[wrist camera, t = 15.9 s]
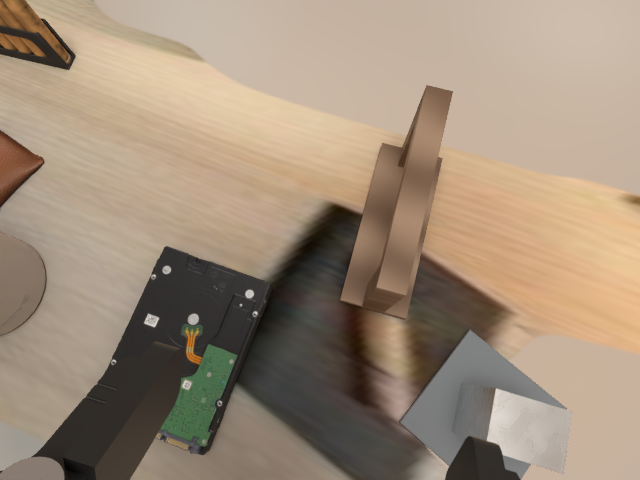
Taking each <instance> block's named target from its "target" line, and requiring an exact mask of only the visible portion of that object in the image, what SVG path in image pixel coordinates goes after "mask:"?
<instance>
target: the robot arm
mask: <svg viewBox="0 0 640 480" xmlns="http://www.w3.org/2000/svg"><path fill="white" fill-rule="evenodd" d="M45 281H46V278H45V268H44V265H43V262H42V260H41V258H40V256H39V255H38V253H37V252H36V251H35V250H34V249H33V248H32V247H31V246H30V245H28V244H26V243H24V242H22V241H20V240H18V239H15V238H13V237H10V236H8V235H5V234H3V233H1V232H0V335H3V334H6V333H8V332H10V331H12V330H13V329H15V328H17V327H18V326H20V325H21V324H22V323H23V322H25V321H26V320H27V319H28V318H29V317H30V315H31V314H32V313H33V312H34V311H35V309H36V307H37V306H38V304H39V302H40V300H41V298H42V295H43V292H44V288H45ZM181 372H182V349H180V348H177V347H173V346H170V345H166V344H163V343H160V342H154V343H152V344H151V345H150V347H149V348H148V349H147V350H146V352H145V353H144V354H143V355H142V357H141V358H139V357H135V356H132V355H129V356H127V357H125V358H124V359H122V360H121V361H119V362H117V363H116V364H114V365H112V366H111V367H110V368H109V369H108V371H107V372H106V373H105V374H104V375H103V376H102V378H101V379H100V380H99V381H98V383H97V385H95V386H94V387H93V388H92V389H91V391H90V392H89V393H88V394H87V396H86V398H84V399H83V400H82V401H81V402H80V404H79V405H78V406H77V407H76V408H75V409H74V411H73V412H72V413H71V414H70V415H69V417H68V418H67V419H66V420H65V421H64V422H63V424H62V425H61V426H60V427H59V428H58V430H57V431H56V432H55V433H54V434H53V435H52V437H51V438H50V439H49V440H48V441H47V442H46V444H45V445H44V446H43V447H42V448H41V449H40V450H39V451H38V452H37V453H36V454H35V455H34V456H32V457H31V458H28V459H24V460H21V461H19V462H17V463H14V464H13V465H11V466H10V467H8V468H6V469H5V470H4V471H0V480H130V478H131V476H132V475H133V473H134V472H135V470H136V468H137V467H138V465H139V463H140V462H141V460H142V458H143V457H144V455H145V453H146V452H147V450H148V448H149V447H150V445H151V443H152V442H153V440H154V438H155V437H156V435H157V434H158V432H159V430H160V429H161V427H162V425H163V424H164V422H165V420H166V419H167V417H168V415H169V414H170V412H171V410H172V409H173V407H174V405H175V403H176V401H177V398H178V395H179V392H180V387H181ZM445 480H520V478H519V476H518V474H517V473H516V472H513V471H510V470H506V469H505V466H504V460H503V455H502V451H501V448H500V446H499V445H498V444H496V443H492V442H489V441H485V440H482V439H479V438H475V437H472V436H468V437H467V438H466V439H465V441H464V442H463V444H462V446H461V448H460V449H459V451H458V453H457V455H456V456H455V458H454V460H453V461H452V463H451V465H450V467H449V468H448V471H447V474H446V478H445Z"/></svg>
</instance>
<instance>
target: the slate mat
mask: <svg viewBox="0 0 640 480" xmlns="http://www.w3.org/2000/svg"><path fill="white" fill-rule="evenodd" d="M461 383H463V384H470V385H477V386H483V387H490V388H496V389H500V390H503V391H506V392H510V393H513V394H516V395H519V396H523V397H526V398H529V399H533V400H536V401H539V402H542V403H546V404H549V405H552V406H556V407H559V408H562V409H565V410H567V408H565V407H564V406H563V405H562V404H561V403H559V402H558V401H557V400H556V399H555V398H553V397H552V396H551V395H549V394H548V393H547V392H546V391H545V390H543V389H542V388H541V387H540V386H539V385H537V384H536V383H535V382H533V381H532V380H531V379H530V378H529V377H527V376H526V375H525V374H524V373H522V372H521V371H520V370H519V369H518V368H516V367H515V366H514V365H513V364H511V363H510V362H509V361H508V360H507V359H505V358H504V357H503V356H502V355H500V354H499V353H498V352H497V351H495V350H494V349H493V348H492V347H491V346H489V345H488V344H487V343H486V342H484V341H483V340H482V339H481V338H479V337H478V336H477V335H476V334H475V333H473V332H472V331H471V330H468V331H467V332H466V334H465V335H464V336H463V338H462V339H461V340H460V342H459V343H458V344H457V346H456V347H455V348H454V350H453V351H452V352H451V354H450V355H449V356H448V358H447V359H446V360H445V362H444V363H443V364H442V366H441V367H440V368H439V370H438V371H437V372H436V374H435V375H434V376H433V378H432V379H431V380H430V382H429V383H428V384H427V386H426V387H425V388H424V390H423V391H422V392H421V393H420V395H419V396H418V397H417V399H416V400H415V401H414V403H413V404H412V405H411V407H410V408H409V409H408V411H407V412H406V413H405V415H404V416H403V417H402V419H401V420H400V421H399V422H400V423H401V424H402V425H404V426H405V427H406V428H407V429H408V430H409V431H410V432H411V433H413V434H414V435H415V436H416V437H417V438H418V439H419V440H420V441H422V442H423V443H424V444H425V445H426V446H427V447H428V448H429V449H431V450H432V451H433V452H434V453H435V454H436V455H437V456H438V457H440V458H441V459H442V460H443V461H444V462H445V463H446V464H447V465H449V466H450V465H451V463H452V461H453V460H454V458H455V456H456V455H457V453H458V451H459V449H460V448H461V446H462V444H463V442H464V441H465V439H464V438H462V437H461V436H459V435H457V434H455V433H453V432H452V428H453V423H454V418H455V413H456V408H457V403H458V398H459V393H460V388H461ZM503 460H504V466H505V469H506V470H510V471H513V472H516V473H517V474H518V476H519V478H520V480H521V478H522V477H523V475H524V474H525V472H526V471H527V469H528V467H529V466H530V465H531V464H530V463H526V462H523V461H520V460H517V459H514V458H511V457H507V456H504V455H503Z"/></svg>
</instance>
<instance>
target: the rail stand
mask: <svg viewBox="0 0 640 480" xmlns="http://www.w3.org/2000/svg"><path fill="white" fill-rule="evenodd" d="M452 93H453V92H452V91H449V90H444V89H440V88H436V87H432V86H426V88H425V91H424V94H423V96H422V99H421V101H420V104H419V106H418V109H417V112H416V114H415V117H414V119H413V122H412V124H411V127H410V130H409V132H408V135H407V137H406V140H405V142H404V145H403V147H402V148H400V147H396V146H392V145H388V144H384V143H382V146H381V150H380V153H379V157H378V161H377V164H376V168H375V172H374V176H373V179H372V183H371V187H370V190H369V194H368V198H367V202H366V205H365V209H364V213H363V216H362V220H361V224H360V228H359V231H358V235H357V239H356V242H355V246H354V250H353V254H352V257H351V261H350V265H349V268H348V272H347V276H346V280H345V283H344V287H343V291H342V294H341V298H340V302H343V303H347V304H351V305H354V306H358V307H361V308H365V309H368V310H372V311H375V312H379V313H383V314H386V315H390V316H393V317H397V318H400V319H406V318H407V313H408V309H409V305H410V300H411V296H412V291H413V287H414V282H415V278H416V273H417V269H418V265H419V260H420V256H421V251H422V247H423V242H424V238H425V233H426V229H427V225H428V220H429V216H430V211H431V207H432V202H433V198H434V193H435V189H436V184H437V180H438V176H439V171H440V167H441V162H442V158H440V157H438V154H439V150H440V145H441V141H442V137H443V132H444V128H445V123H446V119H447V115H448V110H449V106H450V102H451V97H452Z"/></svg>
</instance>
